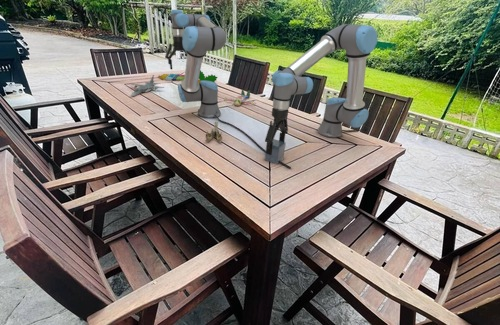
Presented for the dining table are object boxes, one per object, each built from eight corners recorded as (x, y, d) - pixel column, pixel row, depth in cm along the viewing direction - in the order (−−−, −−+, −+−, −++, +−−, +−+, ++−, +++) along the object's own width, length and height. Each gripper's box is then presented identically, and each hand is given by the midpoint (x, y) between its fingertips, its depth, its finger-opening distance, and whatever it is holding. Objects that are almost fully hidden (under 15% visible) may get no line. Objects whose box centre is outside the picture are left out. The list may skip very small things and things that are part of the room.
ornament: (212, 91, 261) (216, 76, 260) (214, 91, 254) (218, 75, 252) (192, 84, 253) (195, 69, 251) (193, 84, 245) (197, 68, 244)
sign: (185, 79, 272) (155, 78, 269) (185, 81, 272) (155, 79, 270) (188, 74, 294) (161, 73, 291) (188, 76, 294) (161, 74, 292)
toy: (261, 91, 228) (254, 99, 202) (261, 99, 231) (253, 108, 205) (231, 87, 233) (220, 95, 207) (230, 95, 236) (219, 104, 210)
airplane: (124, 86, 238) (122, 75, 233) (160, 84, 251) (158, 74, 246) (129, 99, 209) (126, 86, 204) (168, 96, 223) (167, 84, 217)
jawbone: (224, 125, 157) (223, 115, 148) (222, 147, 150) (221, 138, 141) (208, 125, 157) (206, 115, 148) (206, 147, 150) (204, 138, 141)
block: (271, 155, 138) (273, 138, 134) (283, 159, 135) (285, 142, 130) (264, 159, 133) (266, 143, 128) (277, 164, 130) (279, 147, 125)
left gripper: (194, 36, 185) (195, 67, 195) (158, 35, 174) (161, 68, 184) (198, 37, 180) (199, 69, 190) (161, 35, 168) (164, 70, 178)
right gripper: (284, 101, 132) (279, 139, 142) (260, 112, 113) (256, 155, 123) (298, 104, 129) (292, 143, 139) (275, 116, 110) (270, 160, 120)
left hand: (180, 69), depth 187 cm, fingers open, 13 cm apart
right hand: (275, 149), depth 131 cm, fingers open, 13 cm apart
